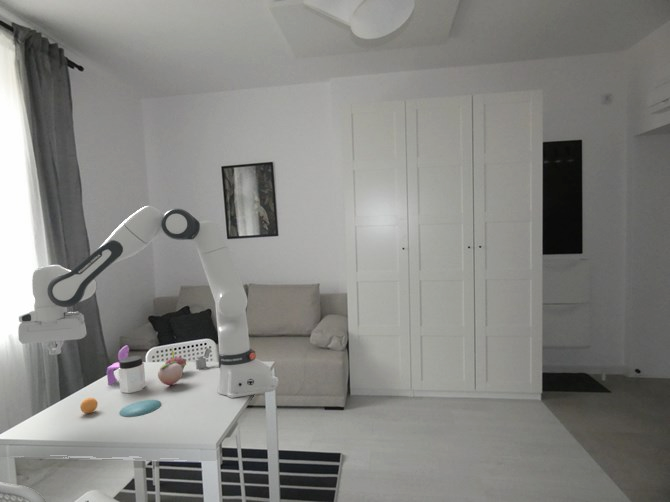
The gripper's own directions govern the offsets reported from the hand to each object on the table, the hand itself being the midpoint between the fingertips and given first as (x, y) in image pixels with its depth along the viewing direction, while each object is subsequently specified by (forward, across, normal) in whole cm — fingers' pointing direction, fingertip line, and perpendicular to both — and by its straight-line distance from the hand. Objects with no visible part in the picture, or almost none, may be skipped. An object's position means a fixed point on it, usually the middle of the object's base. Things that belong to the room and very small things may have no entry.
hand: (55, 354), depth 136 cm
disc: (+21, -26, 0) cm, 34 cm away
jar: (+21, -15, -20) cm, 33 cm away
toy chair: (+21, -6, -30) cm, 37 cm away
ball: (+19, -10, 0) cm, 21 cm away
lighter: (+21, -37, -41) cm, 59 cm away
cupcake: (+21, -27, -34) cm, 49 cm away
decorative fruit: (+21, -30, -20) cm, 42 cm away
